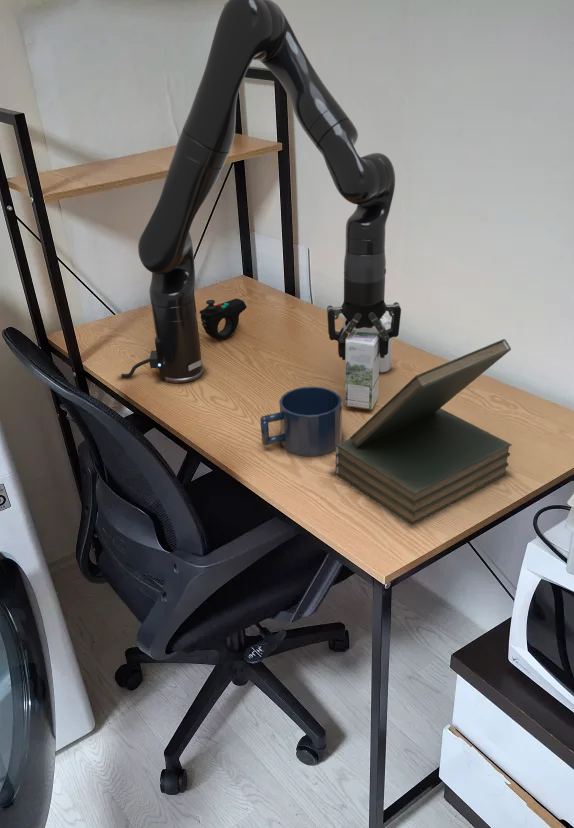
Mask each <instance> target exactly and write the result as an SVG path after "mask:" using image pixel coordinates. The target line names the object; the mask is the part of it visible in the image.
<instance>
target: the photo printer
mask: <svg viewBox="0 0 574 828" xmlns="http://www.w3.org/2000/svg"><path fill="white" fill-rule="evenodd" d="M380 320H381V322H382V324H383V325H384V327H385V329H386V330H388V329H390V328H391V321H390V319H389V318H387V317H386V316H385V315H383V316H382V318H381V319H380ZM353 330H360V331H369V332H378V331H377V329H376V328H375V326H373V327H372V328H365V327H363V328H360V329H356V328H355V327H354V329H353ZM380 336H381V335H380ZM392 353H393V337H392V338H390V339H389V342H388V354H387V355H385V358H381V357H379V373H380V374H381V373H387V372H389V371H390V370H391V367H392V357H393V356H392V355H393V354H392Z"/></svg>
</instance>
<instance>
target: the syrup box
mask: <svg viewBox="0 0 574 828" xmlns="http://www.w3.org/2000/svg"><path fill="white" fill-rule="evenodd" d="M379 357H380V334H379V332H369V331H360V330H352V332H351V333H350V334H349V335H348V337H347V338H346V345H345V360H344V361H345V362H344V363H345V364H344V366H345V367H344V368H345V369H344V370H345V371H344V383H345V384H344V407H346V408H347V407H348V408H356V409H362V410H369V411H371V410H373V408H374V407H375V405H376V402H377V400H378V398H379V379H380V378H379V376H380V372H379Z"/></svg>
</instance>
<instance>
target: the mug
mask: <svg viewBox="0 0 574 828" xmlns="http://www.w3.org/2000/svg"><path fill="white" fill-rule="evenodd" d="M342 402H343V400H342V397H341V395H339V393H337V392H336V391H335V390H333V389H330V388H326V387H323V386H301V387H297V388H294V389H291V390H289V391H286V392H285V393H284V394H283V395H281V397H280V399H279V412H276V413H275V412H274V413H271V414H266V415H262V416H261V417H260V420H259V421H260V432H261V433H260V435H261V444H262V446H264V447H265V446H270V445H274V444H278V443H281V445H282V447H283V449H285V450H286V451H287V452H289V453H291V454H293V455H296V456H301V457H320V456H321V457H322V456H324V455H327V454H330V453H333V452H335V451H336V445H337V444H339V443H341V442H342V439H343V437H342V432H343V431H342V430H343V429H342V428H343V427H342V423H343V422H342V421H343V420H342V419H343V403H342ZM278 421H279V422H280V423H279V424H280V434H277V435H276V434H275V435H272V436H270V428H269V423H275V422H278Z"/></svg>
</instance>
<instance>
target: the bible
mask: <svg viewBox="0 0 574 828" xmlns="http://www.w3.org/2000/svg"><path fill="white" fill-rule="evenodd" d="M511 350H512V347H511V346H510V344H509V343H508V341H507V339H505V338H503V339H499V340H498V341H496V342H495V341H494V343H490V344H489V345H486V346H484V347H481V348H479V349H476V350H474V351H472V352H469V353H466V354H464V355H462V356H459V357H457V358H455V359H452V360H450V361H447V362H445V363H442V364H440V365H438V366H435V367H433V368H431V369H428V370H426V371H424V372H421V373H418V374H416V375H414V377H413V378H412V379H411V380H409V382H407V383H406V384H405V385H404V386H403V387H402V388H401V389H400V390H399V391H398V392H397V393H396V394H395V395H393V396H392V398H390V399H389V400H388V401H387V402H386V403H385V404H384V405H383V406H382V407H381V408H379V410H378V411H377V412H376V413H375V414H374V415H373V416H371V417H370V418H369V419H368V420H367V421H366V422H364V424H363V425H362V426H360V428H359V429H357V430H356V431H355V432H354V433H353V434H352V436H350V437H349V439H346V440H344V441H341V443H339V444H337V445H336V450H335V475H336V476H338V477H339V478H341V479H343V480H344V481H345V482H347V483H348V484H350V485H352V486H353V487H354V488H356V489H357V490H359V491H361V492H362V493H364V494H365V495H367V496H368V497H370V498H371V499H372V500H374V501H375V502H377V503H378V504H380V505H381V506H383V507H384V508H386V509H388V510H389V511H391V512H392V513H393V514H395V515H396V516H398V517H399V518H401V519H402V520H404V521H405V522H407V523H408V524H410V525H411V526H413V525H416V524H418V523H419V522H421V521H423V520H425V519H427V518H429V517H431V516H433V515H434V514H436V513H438V512H440V511H442V510H444V509H446V508H448V507H449V506H451V505H453V504H455V503H456V502H459V501H461V500H462V499H464V498H466V497H468V496H470V495H472V494H473V493H475V492H477V491H480V490H481V489H483V488H484V487H487V486H489V485H490V484H493V483H494V482H496V481H498V480H500V479H501V478H503V477H506V476H507V475H508V473H507V472H506V470H507V467H509V465H510V464H509V463H508V457H510V456H511V453H510V452H509V450H510V447H511V446H512V445H513V444H512V443H510V442H508V441H506V440H504V439H502V438H500V437H498V436H496V435H494V434H492V433H490V432H489V431H486V430H485V429H482V428H480V427H479V426H476V425H475V424H473V423H470V422H468V421H466V420H465V419H463V418H461V417H458V416H457V415H455V414H452V413H451V412H449V411H447V410H445V409H443V408H442V407H444V406H445V405H446V404H448V402H449V401H451V400H453V398H455V397H456V396H457V395H458V394H459V393H461V392H462V391H463V390H465V388H467V387H468V386H469V385H470V384H472V383H473V382H474V381H475V380H476V379H477V378H479V377H480V376H481V375H483V374H484V373H485V372H486V371H487V370H489V369H490V368H491V367H492V366H493V365H494V364H496V363H497V362H499V360H501V358H503V357H504V356H505V355H506V354H508V353H509V352H510V351H511Z"/></svg>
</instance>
